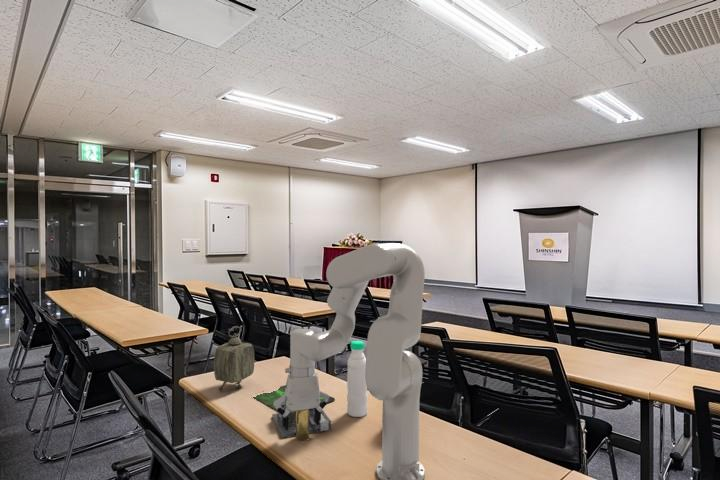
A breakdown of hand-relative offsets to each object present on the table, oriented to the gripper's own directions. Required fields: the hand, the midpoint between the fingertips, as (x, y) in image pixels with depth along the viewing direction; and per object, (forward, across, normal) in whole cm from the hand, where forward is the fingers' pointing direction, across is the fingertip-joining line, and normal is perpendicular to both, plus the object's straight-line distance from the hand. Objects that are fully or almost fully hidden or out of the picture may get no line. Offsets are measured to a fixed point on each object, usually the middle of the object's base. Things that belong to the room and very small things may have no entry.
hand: (301, 425), depth 127 cm
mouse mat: (+5, +4, +32) cm, 32 cm away
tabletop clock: (+5, -15, +51) cm, 53 cm away
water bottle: (+4, +22, +10) cm, 24 cm away
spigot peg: (+4, 0, 0) cm, 4 cm away
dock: (+4, +2, +10) cm, 11 cm away
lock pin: (+3, +7, +4) cm, 9 cm away
